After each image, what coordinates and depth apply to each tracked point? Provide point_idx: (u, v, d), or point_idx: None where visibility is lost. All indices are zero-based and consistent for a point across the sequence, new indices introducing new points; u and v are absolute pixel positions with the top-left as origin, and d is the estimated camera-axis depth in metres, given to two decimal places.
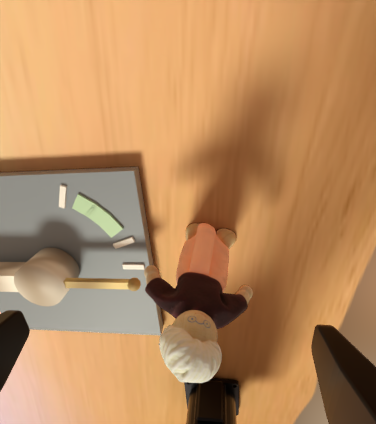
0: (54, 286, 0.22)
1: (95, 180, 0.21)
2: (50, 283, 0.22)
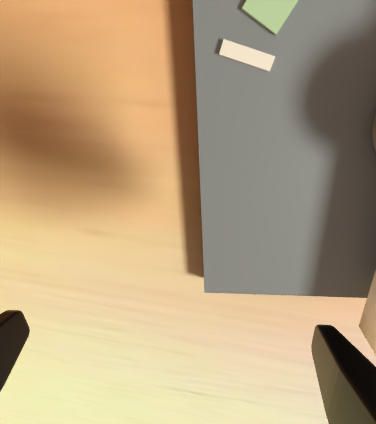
0: None
1: None
2: None
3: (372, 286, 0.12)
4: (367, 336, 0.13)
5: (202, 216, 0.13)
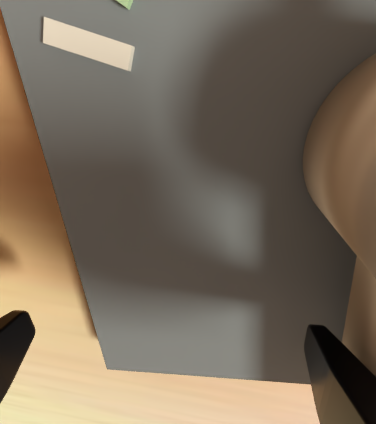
0: None
1: None
2: None
3: None
4: None
5: (81, 278, 0.09)
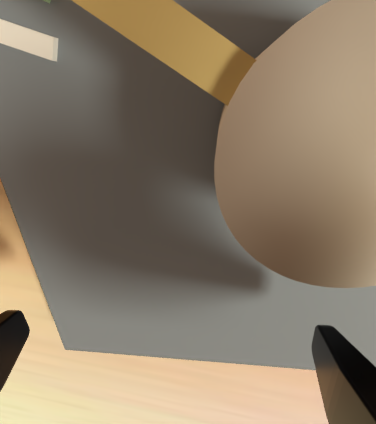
0: (279, 116, 0.04)
1: None
2: (274, 148, 0.04)
3: None
4: None
5: (32, 260, 0.10)
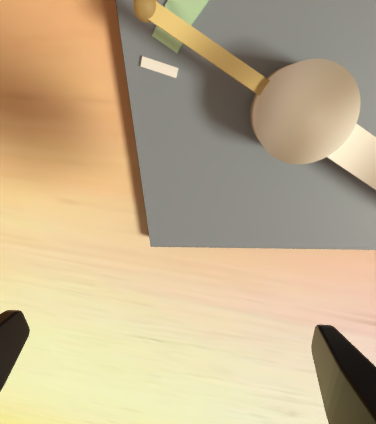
0: (277, 98, 0.11)
1: None
2: (275, 109, 0.12)
3: None
4: None
5: (142, 184, 0.17)
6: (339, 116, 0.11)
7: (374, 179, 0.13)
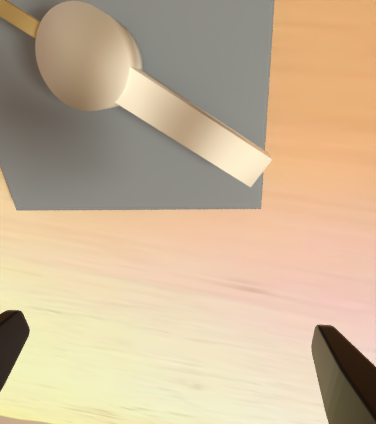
0: (50, 42, 0.12)
1: None
2: (52, 54, 0.12)
3: None
4: None
5: None
6: (110, 60, 0.12)
7: (165, 126, 0.13)
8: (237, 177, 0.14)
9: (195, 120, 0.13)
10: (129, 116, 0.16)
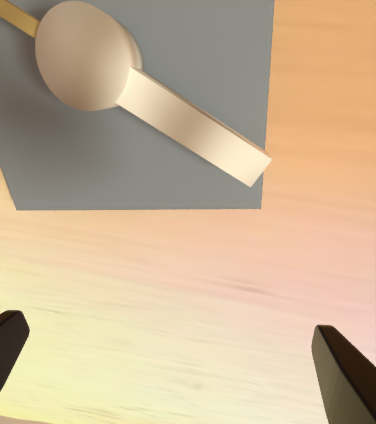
0: (50, 42, 0.12)
1: None
2: (52, 54, 0.12)
3: None
4: None
5: None
6: (110, 60, 0.12)
7: (165, 126, 0.13)
8: (237, 177, 0.14)
9: (195, 120, 0.13)
10: (129, 116, 0.16)
